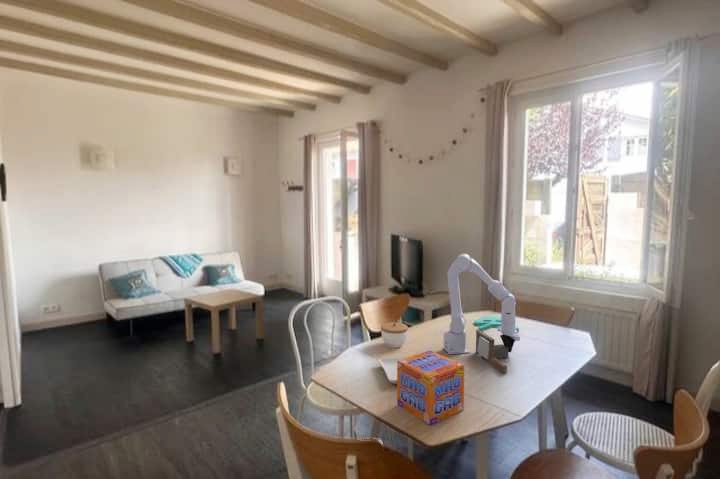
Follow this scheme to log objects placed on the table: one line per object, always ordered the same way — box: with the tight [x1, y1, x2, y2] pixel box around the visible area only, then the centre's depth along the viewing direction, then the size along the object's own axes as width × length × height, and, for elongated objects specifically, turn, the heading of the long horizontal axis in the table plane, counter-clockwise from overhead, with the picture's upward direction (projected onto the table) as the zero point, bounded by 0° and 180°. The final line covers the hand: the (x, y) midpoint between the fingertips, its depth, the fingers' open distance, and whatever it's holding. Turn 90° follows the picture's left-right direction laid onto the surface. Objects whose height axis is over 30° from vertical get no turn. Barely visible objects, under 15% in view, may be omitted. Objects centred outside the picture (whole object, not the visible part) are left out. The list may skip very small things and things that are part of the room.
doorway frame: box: [475, 329, 508, 375], centre depth 167 cm, size 2×23×10 cm, turn 11°
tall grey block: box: [480, 343, 509, 361], centre depth 173 cm, size 10×5×4 cm, turn 100°
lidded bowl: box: [380, 321, 409, 349], centre depth 188 cm, size 13×13×11 cm
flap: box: [477, 337, 489, 361], centre depth 172 cm, size 1×9×7 cm, turn 11°
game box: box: [396, 350, 465, 426], centre depth 131 cm, size 16×16×16 cm
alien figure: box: [474, 316, 520, 333], centre depth 217 cm, size 20×2×20 cm
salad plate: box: [377, 356, 409, 385], centre depth 157 cm, size 21×21×3 cm
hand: (508, 351), depth 174 cm, fingers closed, pressing on tall grey block
